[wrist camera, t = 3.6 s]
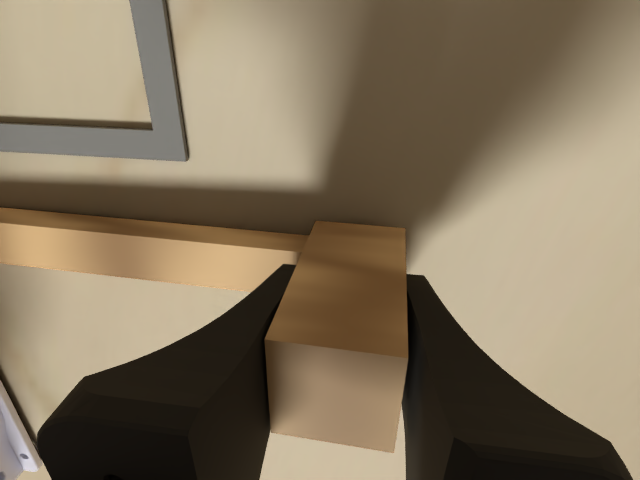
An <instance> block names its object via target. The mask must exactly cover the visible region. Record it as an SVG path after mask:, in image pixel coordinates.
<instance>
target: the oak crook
mask: <svg viewBox="0 0 640 480" xmlns="http://www.w3.org/2000/svg"><path fill="white" fill-rule="evenodd" d="M0 263H3V264H11V265H20V266H29V267H38V268H46V269H55V270H64V271H73V272H81V273H90V274H99V275H108V276H116V277H125V278H134V279H142V280H151V281H160V282H169V283H177V284H186V285H195V286H204V287H212V288H221V289H230V290H239V291H247V292H252V291H253V290H255V289H256V288H257V287H258V286H259V285H260V284H261V283H262V282H264V281H265V280H266V279H267V278H268V277H269V276H270V275H271V274H272V273H273V272H274V271H276V270H277V269H278V268H279V267H280V266H281V265H282V264H292V265H296V267H295V270H294V272H293V274H292V277H291V279H290V281H289V284H288V286H287V288H286V291H285V293H284V295H283V298H282V300H281V302H280V304H279V307H278V309H277V311H276V314H275V316H274V318H273V321H272V323H271V325H270V328H269V330H268V332H267V335H266V337H265V339H264V340H265V355H266V369H267V384H268V398H269V413H270V427H271V433H276V434H282V435H288V436H294V437H300V438H307V439H313V440H319V441H325V442H331V443H337V444H343V445H349V446H355V447H361V448H367V449H373V450H379V451H385V452H391V453H394V449H395V442H396V436H397V429H398V423H399V416H400V410H401V403H402V397H403V390H404V384H405V377H406V371H407V364H408V323H407V282H406V242H405V228H397V227H385V226H374V225H362V224H350V223H338V222H327V221H315V224H314V226H313V228H312V230H311V233H310V235H309V236H308V235H297V234H286V233H275V232H264V231H253V230H243V229H232V228H221V227H210V226H199V225H188V224H177V223H166V222H155V221H144V220H133V219H122V218H111V217H100V216H89V215H78V214H67V213H56V212H45V211H34V210H23V209H12V208H1V207H0Z"/></svg>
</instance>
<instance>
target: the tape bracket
mask: <svg viewBox="0 0 640 480" xmlns="http://www.w3.org/2000/svg"><path fill="white" fill-rule="evenodd" d="M129 1H130V6H131V12H132V17H133V23H134V28H135V34H136V39H137V45H138V50H139V56H140V61H141V67H142V72H143V78H144V83H145V89H146V94H147V100H148V105H149V111H150V116H151V122H152V127H153V129H134V128H112V127H91V126H69V125H47V124H25V123H3V122H0V151H3V152H21V153H40V154H58V155H76V156H94V157H112V158H130V159H148V160H166V161H184V162H186V161H188V153H187V146H186V140H185V133H184V126H183V119H182V112H181V105H180V98H179V92H178V85H177V78H176V71H175V64H174V57H173V50H172V44H171V37H170V30H169V23H168V16H167V9H166V2H165V0H129Z"/></svg>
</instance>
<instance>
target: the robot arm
mask: <svg viewBox="0 0 640 480" xmlns="http://www.w3.org/2000/svg"><path fill="white" fill-rule="evenodd" d="M295 267H296V265H292V264H282V265H281V266H280V267H279V268H278V269H277V270H276V271H274V272H273V273H272V274H271V275H270V276H269V277H268V278H267V279H266V280H265V281H264V282H262V283H261V284H260V285H259V286H258V287H257V288H256V289H255V290H253V291H252V292H251V293H250V294H249V295H248V296H246V297H245V298H244V299H243V300H242V301H240V302H239V303H238V304H236V305H235V306H234V307H232V308H231V309H230V310H228V311H227V312H226V313H224V314H223V315H221V316H220V317H218V318H217V319H215V320H214V321H212V322H211V323H209V324H207V325H206V326H204V327H203V328H201V329H199V330H197V331H196V332H194V333H192V334H190V335H188V336H186V337H184V338H182V339H180V340H178V341H176V342H174V343H173V344H171V345H169V346H166V347H164V348H162V349H160V350H157V351H155V352H153V353H151V354H148V355H146V356H143V357H141V358H138V359H136V360H133V361H130V362H128V363H125V364H122V365H119V366H116V367H113V368H110V369H107V370H104V371H101V372H98V373H95V374H92V375H89V376H85V377H84V378H83V379H82V380H81V381H80V382H79V383H78V384H77V385H76V386H75V388H74V389H73V390H72V391H71V392H70V393H69V394H68V396H67V397H66V398H65V399H64V400H63V402H62V403H61V404H60V405H59V406H58V407H57V409H56V410H55V411H54V412H53V413H52V415H51V416H50V417H49V418H48V419H47V420H46V422H45V423H44V424H43V425H42V427H41V428H40V430H39V431H38V434H37V447H38V450H39V453H40V457H41V459H42V461H43V463H44V465H45V467H46V469H47V471H48V473H49V475H50V477H51V479H52V480H259V478H260V474H261V469H262V464H263V460H264V455H265V451H266V447H267V442H268V438H269V434H270V429H271V427H270V413H269V398H268V384H267V369H266V355H265V340H264V339H265V337H266V335H267V332H268V330H269V328H270V325H271V323H272V321H273V318H274V316H275V314H276V311H277V309H278V307H279V304H280V302H281V300H282V298H283V295H284V293H285V291H286V288H287V286H288V284H289V281H290V279H291V277H292V274H293V272H294V270H295ZM406 282H407V323H408V364H407V371H406V377H405V384H404V390H403V397H402V410H403V418H404V429H405V451H406V480H633V479H632V477H631V475H630V473H629V471H628V469H627V468H626V466H625V464H624V462H623V461H622V459H621V458H620V456H619V455H618V453H617V452H616V450H615V449H614V447H613V445H612V444H611V442H610V441H608V440H606V439H605V438H603V437H601V436H600V435H598V434H596V433H595V432H593V431H591V430H590V429H588V428H586V427H584V426H583V425H581V424H579V423H578V422H576V421H574V420H573V419H571V418H569V417H568V416H566V415H564V414H563V413H561V412H560V411H558V410H557V409H555V408H554V407H553V406H551V405H550V404H548V403H547V402H545V401H544V400H542V399H541V398H539V397H538V396H537V395H535V394H534V393H532V392H531V391H530V390H528V389H527V388H526V387H524V386H523V385H522V384H521V383H519V382H518V381H517V380H516V379H514V378H513V377H512V376H511V375H509V374H508V373H507V372H506V371H504V370H503V369H502V368H501V367H500V366H499V365H498V364H496V363H495V362H494V361H493V360H492V359H491V358H490V357H489V356H488V355H487V354H486V353H485V352H484V351H483V350H482V349H480V348H479V347H478V346H477V344H476V343H475V342H474V341H473V340H472V339H471V338H470V337H469V336H468V335H467V333H466V332H465V331H464V330H463V329H462V328H461V326H460V325H459V324H458V323H457V322H456V320H455V319H454V318H453V316H452V315H451V314H450V312H449V311H448V310H447V309H446V307H445V306H444V304H443V303H442V302H441V300H440V299H439V297H438V296H437V294H436V293H435V291H434V290H433V288H432V287H431V285H430V284H429V282H428V280H427V279H426V278H425V276H423V275H411V274H406ZM40 457H39V455H38V453H37V451H36V449H35V447H34V445H33V443H32V441H31V439H30V437H29V435H28V433H27V431H26V429H25V427H24V426H23V424H22V422H21V420H20V418H19V416H18V414H17V412H16V410H15V408H14V406H13V404H12V402H11V400H10V398H9V396H8V394H7V392H6V390H5V388H4V386H3V384H2V382H1V380H0V480H16V479H17V478H18V477H19V475H20V474H21V473H22V472H23V470H25V471H32V472H35V471H38V470H39V468H40V467H41V466H42V461H41V459H40Z"/></svg>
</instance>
